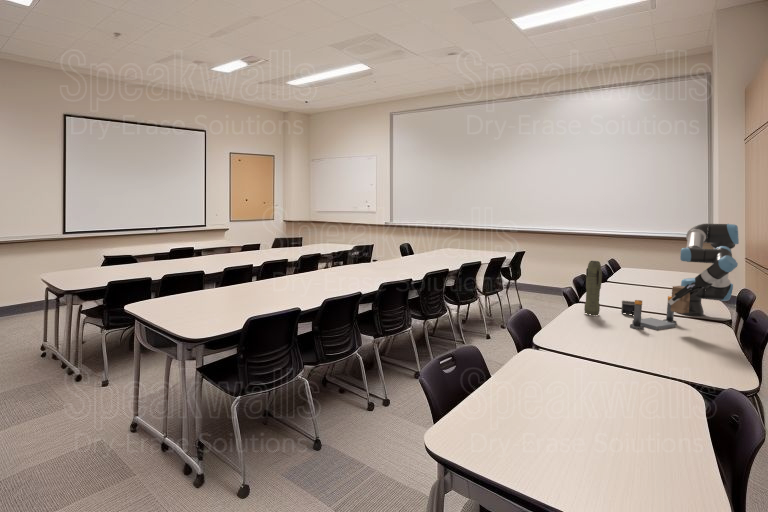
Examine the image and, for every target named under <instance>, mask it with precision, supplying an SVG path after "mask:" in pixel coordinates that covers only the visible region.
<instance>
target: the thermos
mask: <svg viewBox="0 0 768 512" xmlns="http://www.w3.org/2000/svg"><path fill="white" fill-rule="evenodd" d="M587 264H588V265H587V268H586V274H585V289H586V290H585V303H584V308H583V309H584V313H587V314H591V315H598V314H599V315H600V311H601V308H600V307H601V304H600V294H601V293H600V292H601V289H602V279H603V271H602V265H601V262H600V261H598V260H590V261H589V262H588V263H587Z"/></svg>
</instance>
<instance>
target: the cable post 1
mask: <svg viewBox="0 0 768 512" xmlns="http://www.w3.org/2000/svg"><path fill="white" fill-rule="evenodd" d="M634 302H635V308H634V316H633V320H634V323H633V322H632V323H631V324H629V328H631V329H633V330H644V328H645V327H644V326H642V325H641V319H642V310H643V308H642V307H643V300H639V299H635V300H634Z"/></svg>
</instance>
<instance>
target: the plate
mask: <svg viewBox="0 0 768 512" xmlns="http://www.w3.org/2000/svg"><path fill="white" fill-rule="evenodd" d="M663 320H664V319H658V318H655V317H645V318H641V325H642V326H644V328H646V329H647V328H648V329H651V330H655V331H656V330H657V331H658V330H664V329H665V328H666V329H670V327H672V328H675V327H676V324H675V323H671V322H667V321H663ZM633 323H634V319H632V324H633Z"/></svg>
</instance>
